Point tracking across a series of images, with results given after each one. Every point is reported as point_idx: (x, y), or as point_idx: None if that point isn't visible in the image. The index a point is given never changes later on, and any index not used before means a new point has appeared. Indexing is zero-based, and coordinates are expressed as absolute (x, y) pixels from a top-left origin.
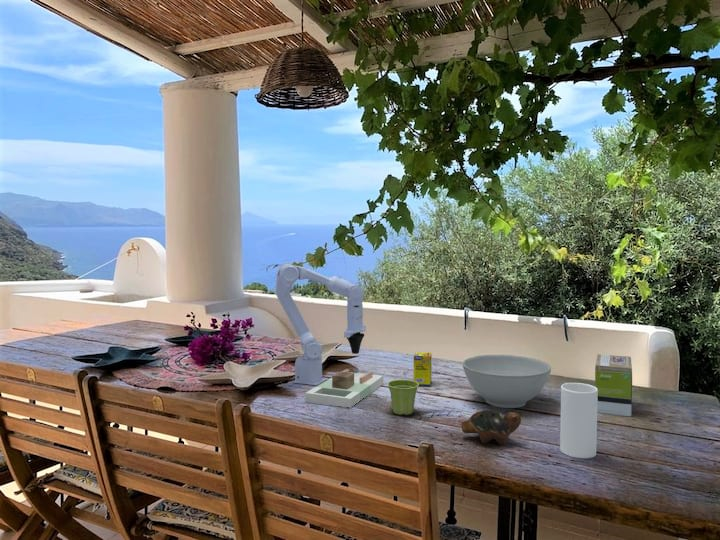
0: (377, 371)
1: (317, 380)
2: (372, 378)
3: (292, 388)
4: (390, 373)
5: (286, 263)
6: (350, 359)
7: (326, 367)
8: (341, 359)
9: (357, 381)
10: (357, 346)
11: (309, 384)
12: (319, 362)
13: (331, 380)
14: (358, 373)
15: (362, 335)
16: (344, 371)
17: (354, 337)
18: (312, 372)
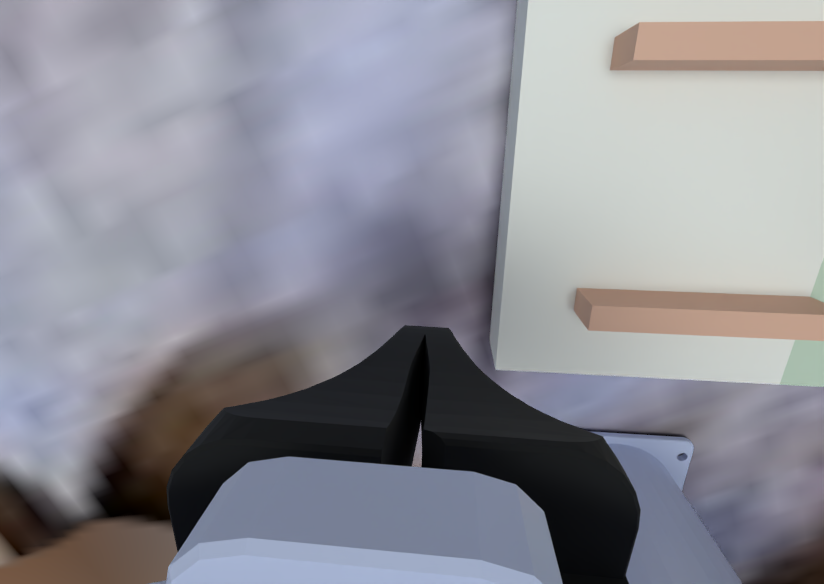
0: (182, 180)
1: (655, 462)
2: (670, 13)
3: (764, 534)
4: (179, 45)
5: None
6: (23, 462)
7: None
8: (58, 507)
9: (807, 124)
10: (480, 370)
11: (680, 481)
12: (707, 572)
13: (796, 354)
14: (521, 225)
15: (375, 433)
16: (692, 314)
17: (598, 558)
18: (710, 535)
